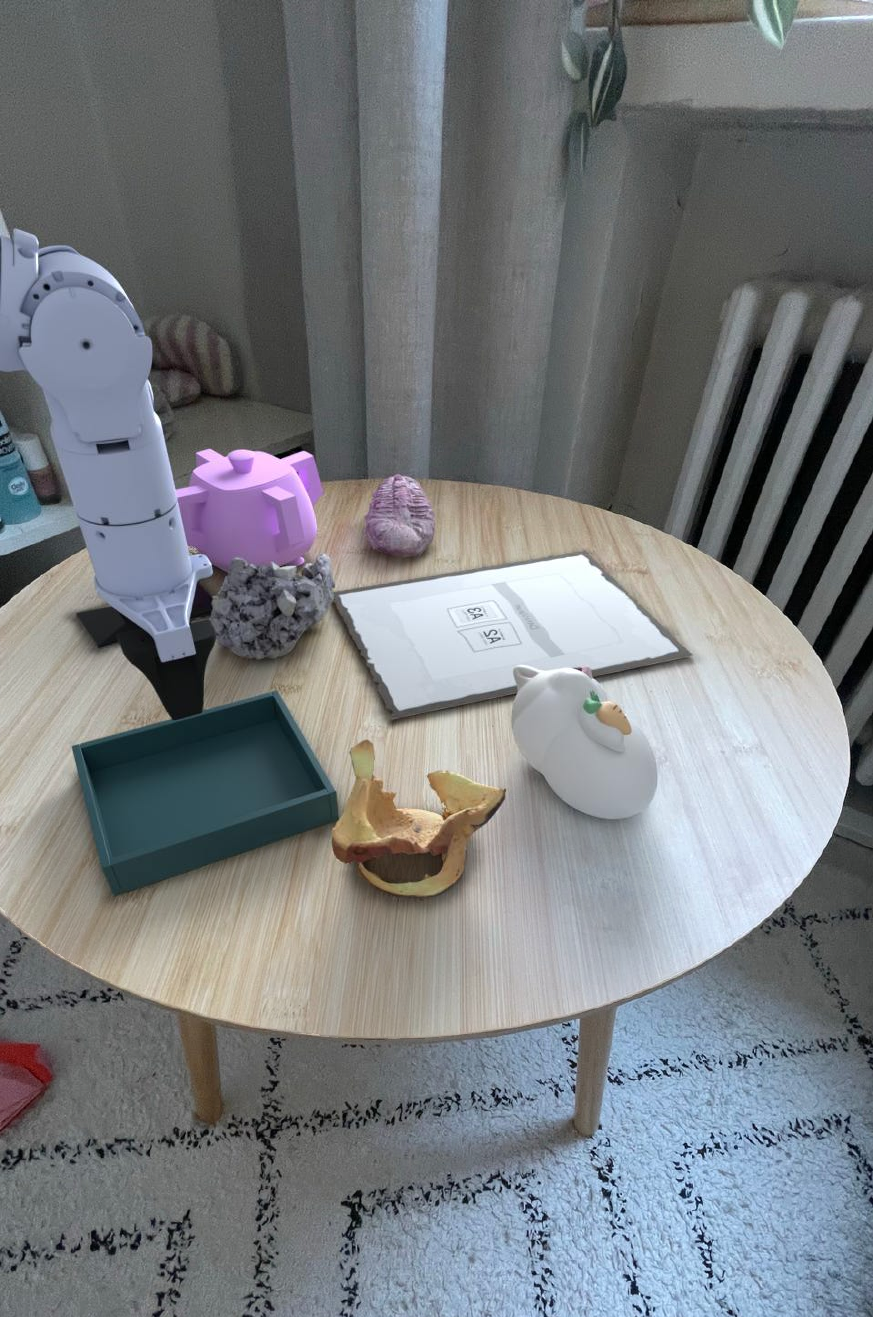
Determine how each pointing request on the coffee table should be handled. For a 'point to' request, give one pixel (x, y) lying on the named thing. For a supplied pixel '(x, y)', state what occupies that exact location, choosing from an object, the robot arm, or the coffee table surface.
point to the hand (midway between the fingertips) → (176, 690)
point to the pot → (251, 507)
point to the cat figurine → (582, 742)
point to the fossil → (400, 518)
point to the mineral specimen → (270, 606)
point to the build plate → (109, 623)
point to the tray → (200, 790)
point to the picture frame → (497, 630)
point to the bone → (411, 824)
